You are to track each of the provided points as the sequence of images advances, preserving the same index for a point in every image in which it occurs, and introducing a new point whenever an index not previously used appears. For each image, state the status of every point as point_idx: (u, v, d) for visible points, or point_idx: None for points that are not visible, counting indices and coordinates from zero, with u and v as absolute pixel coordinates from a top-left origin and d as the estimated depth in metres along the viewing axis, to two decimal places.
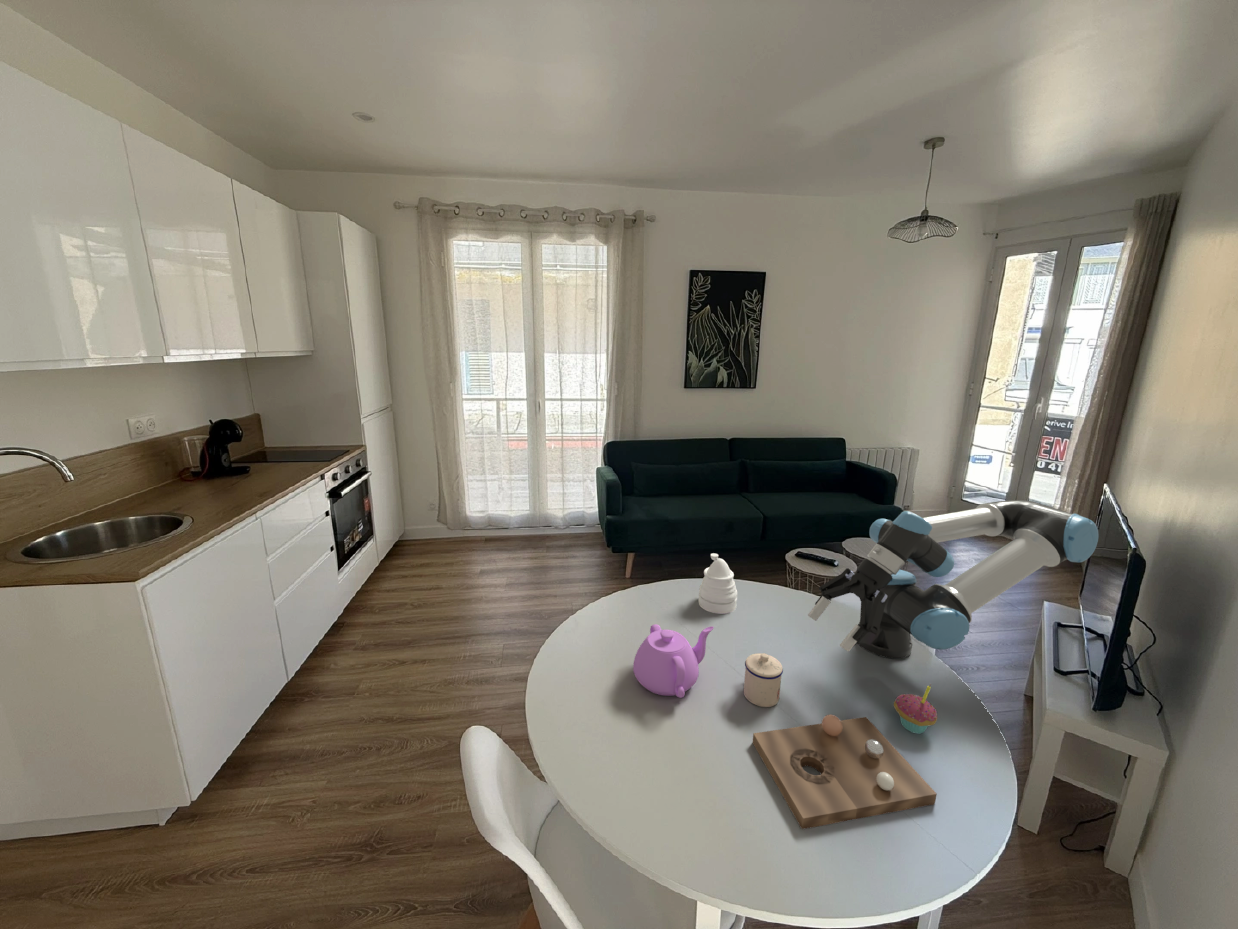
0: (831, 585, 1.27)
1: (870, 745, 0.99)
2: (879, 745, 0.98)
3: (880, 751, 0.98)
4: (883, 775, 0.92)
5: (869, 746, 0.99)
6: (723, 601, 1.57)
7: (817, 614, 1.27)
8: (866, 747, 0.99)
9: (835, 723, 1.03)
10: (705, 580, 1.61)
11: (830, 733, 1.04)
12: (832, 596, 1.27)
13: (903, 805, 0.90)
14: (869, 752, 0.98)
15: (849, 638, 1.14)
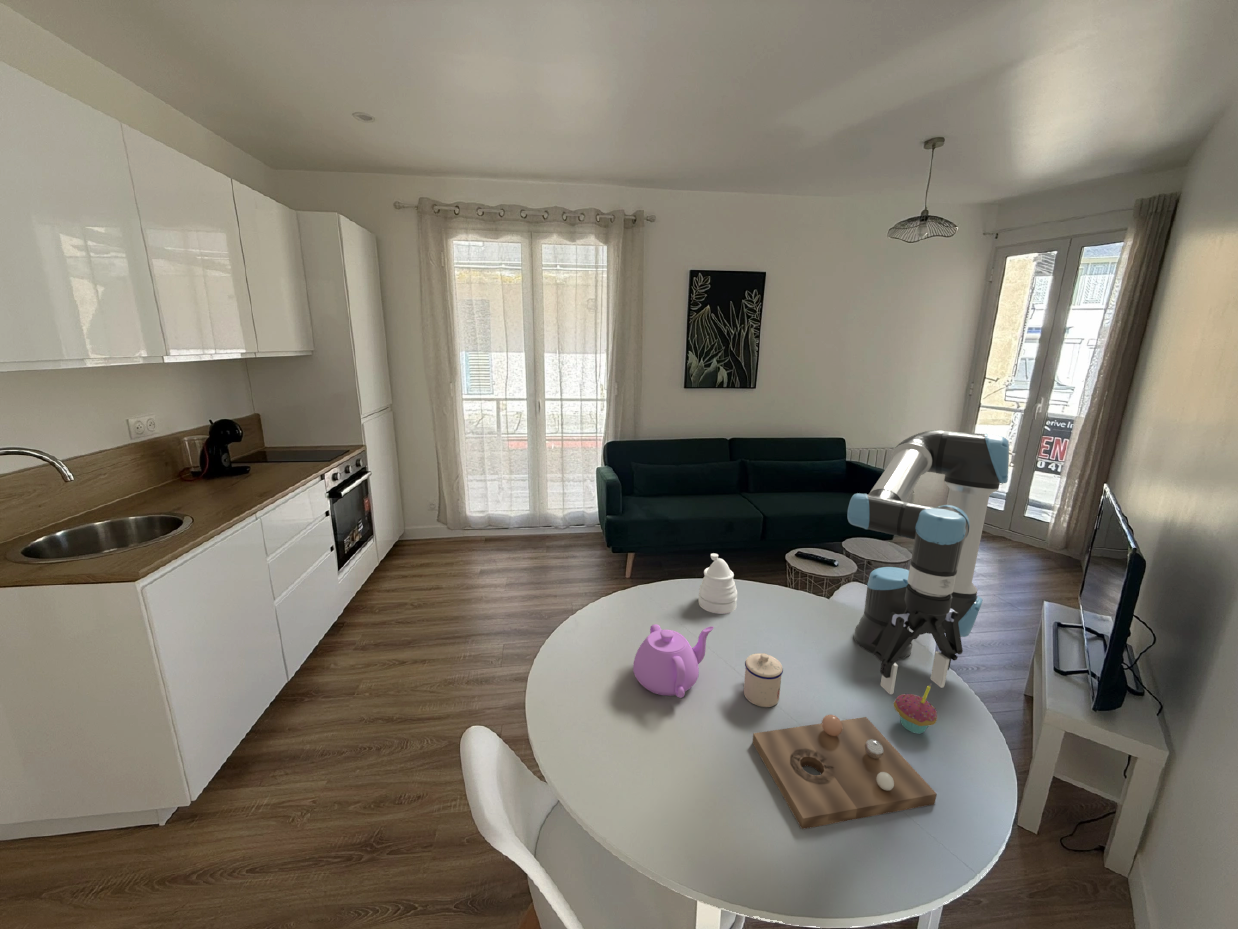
0: None
1: (870, 745, 0.99)
2: (879, 745, 0.98)
3: (880, 751, 0.98)
4: (883, 775, 0.92)
5: (869, 746, 0.99)
6: (723, 601, 1.57)
7: None
8: (866, 747, 0.99)
9: (835, 723, 1.03)
10: (705, 580, 1.61)
11: (830, 733, 1.04)
12: None
13: (903, 805, 0.90)
14: (869, 752, 0.98)
15: None
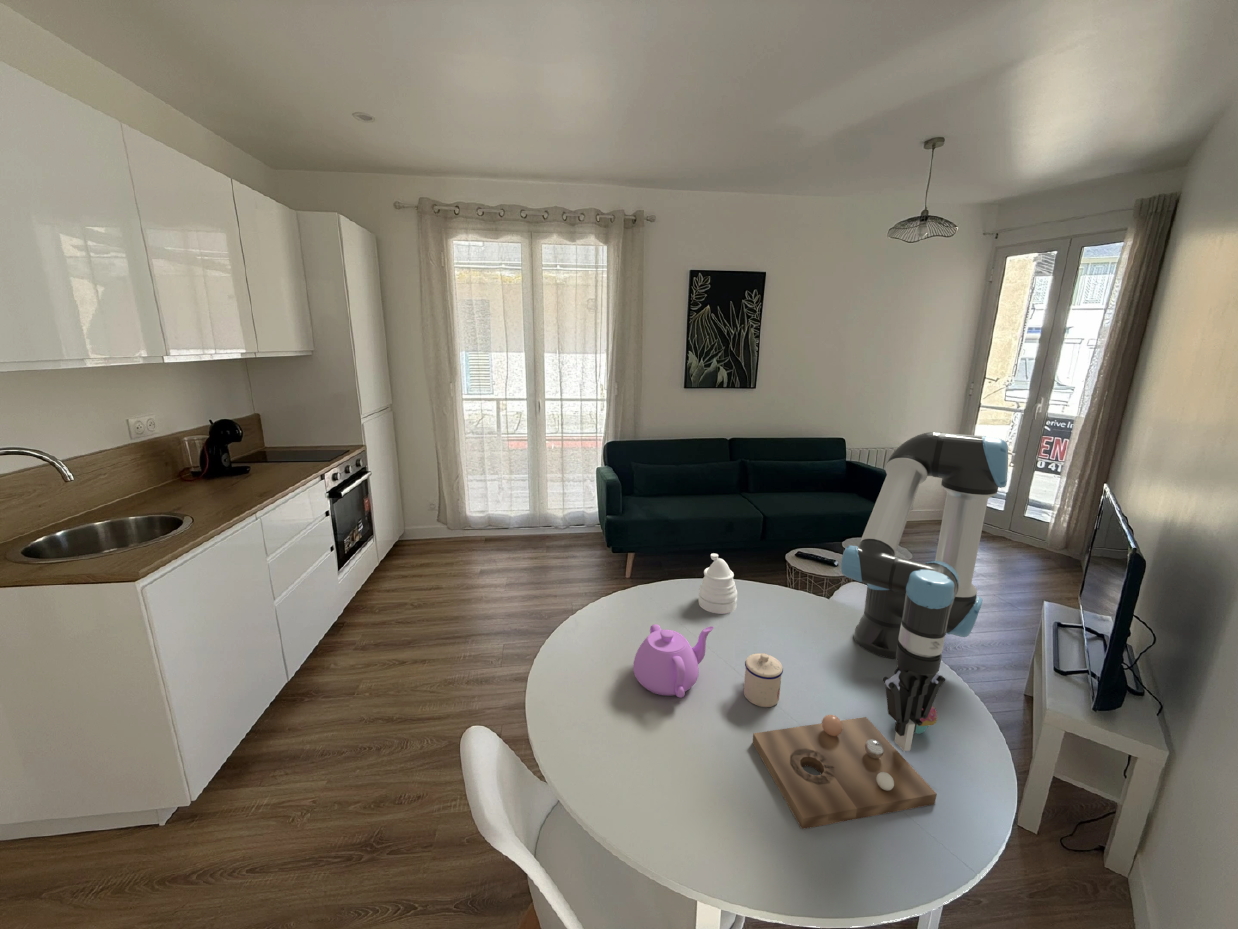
0: None
1: (870, 745, 0.99)
2: (879, 745, 0.98)
3: (880, 751, 0.98)
4: (883, 775, 0.92)
5: (869, 746, 0.99)
6: (723, 601, 1.57)
7: None
8: (866, 747, 0.99)
9: (835, 723, 1.03)
10: (705, 580, 1.61)
11: (830, 733, 1.04)
12: None
13: (903, 805, 0.90)
14: (869, 752, 0.98)
15: None
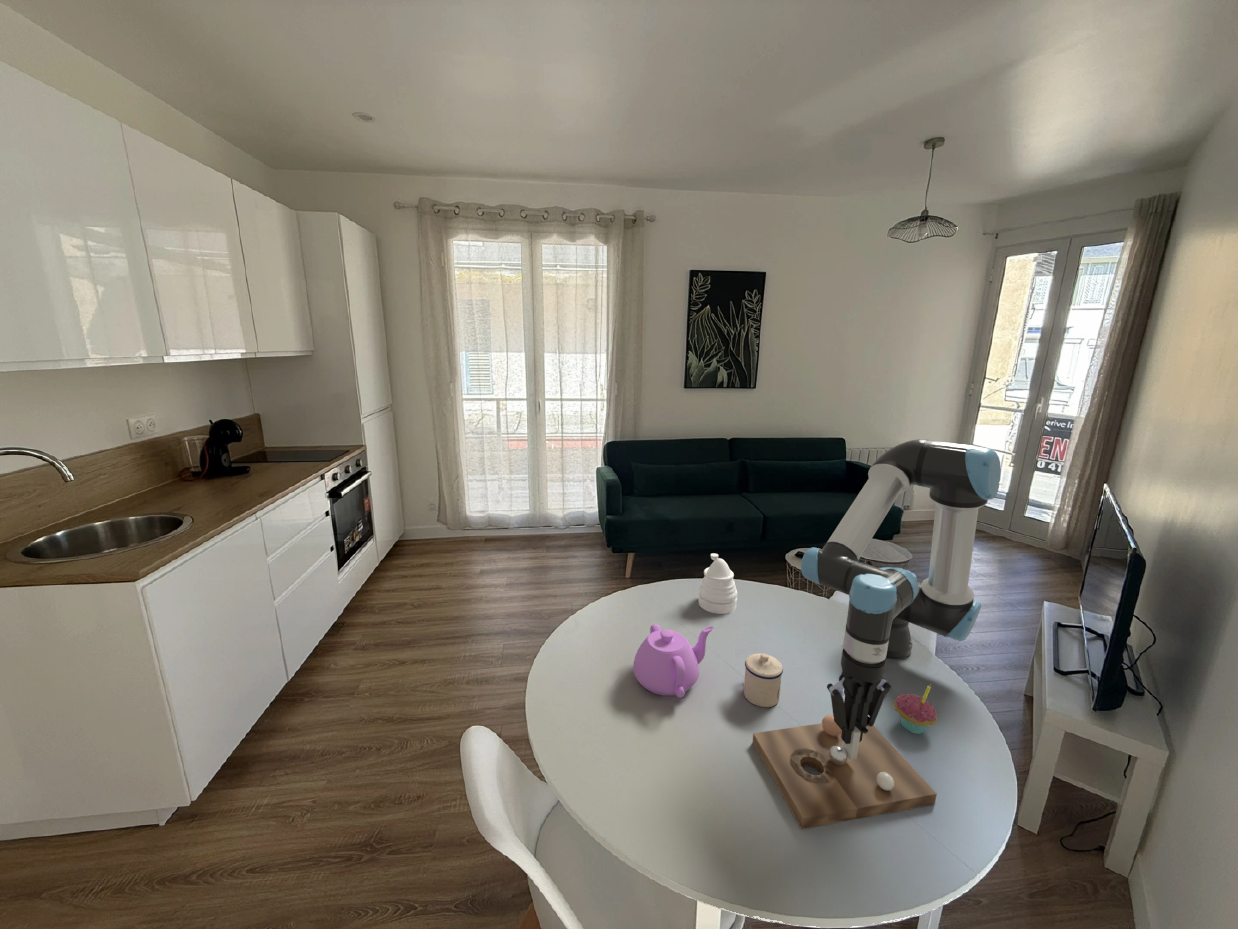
0: None
1: None
2: None
3: None
4: (883, 775, 0.92)
5: (842, 749, 0.97)
6: (723, 601, 1.57)
7: None
8: (839, 747, 0.98)
9: (835, 723, 1.03)
10: (705, 580, 1.61)
11: (830, 733, 1.04)
12: None
13: (903, 805, 0.90)
14: (840, 751, 0.97)
15: None
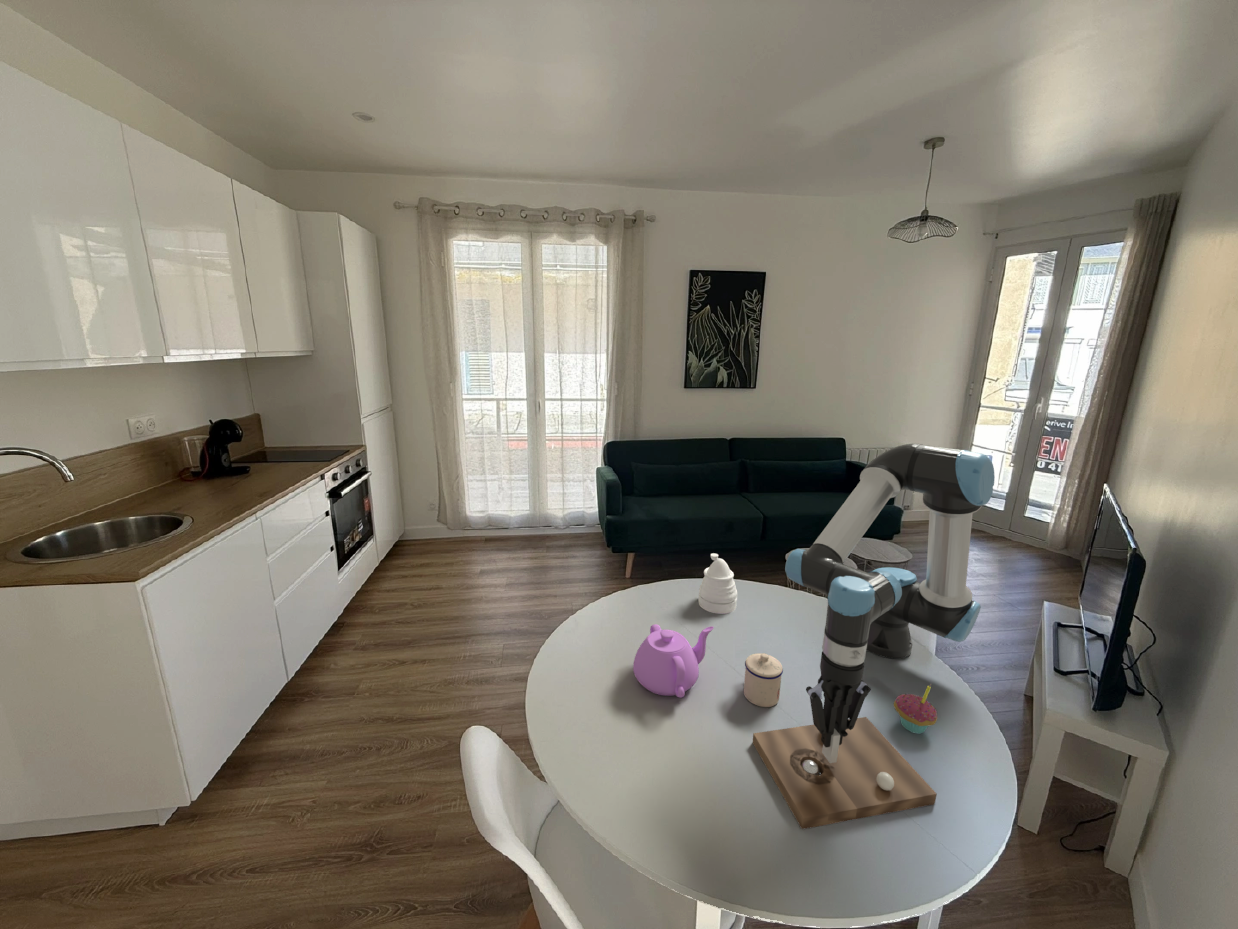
0: None
1: None
2: None
3: None
4: (883, 775, 0.92)
5: None
6: (723, 601, 1.57)
7: None
8: None
9: None
10: (705, 580, 1.61)
11: None
12: None
13: (903, 805, 0.90)
14: None
15: None
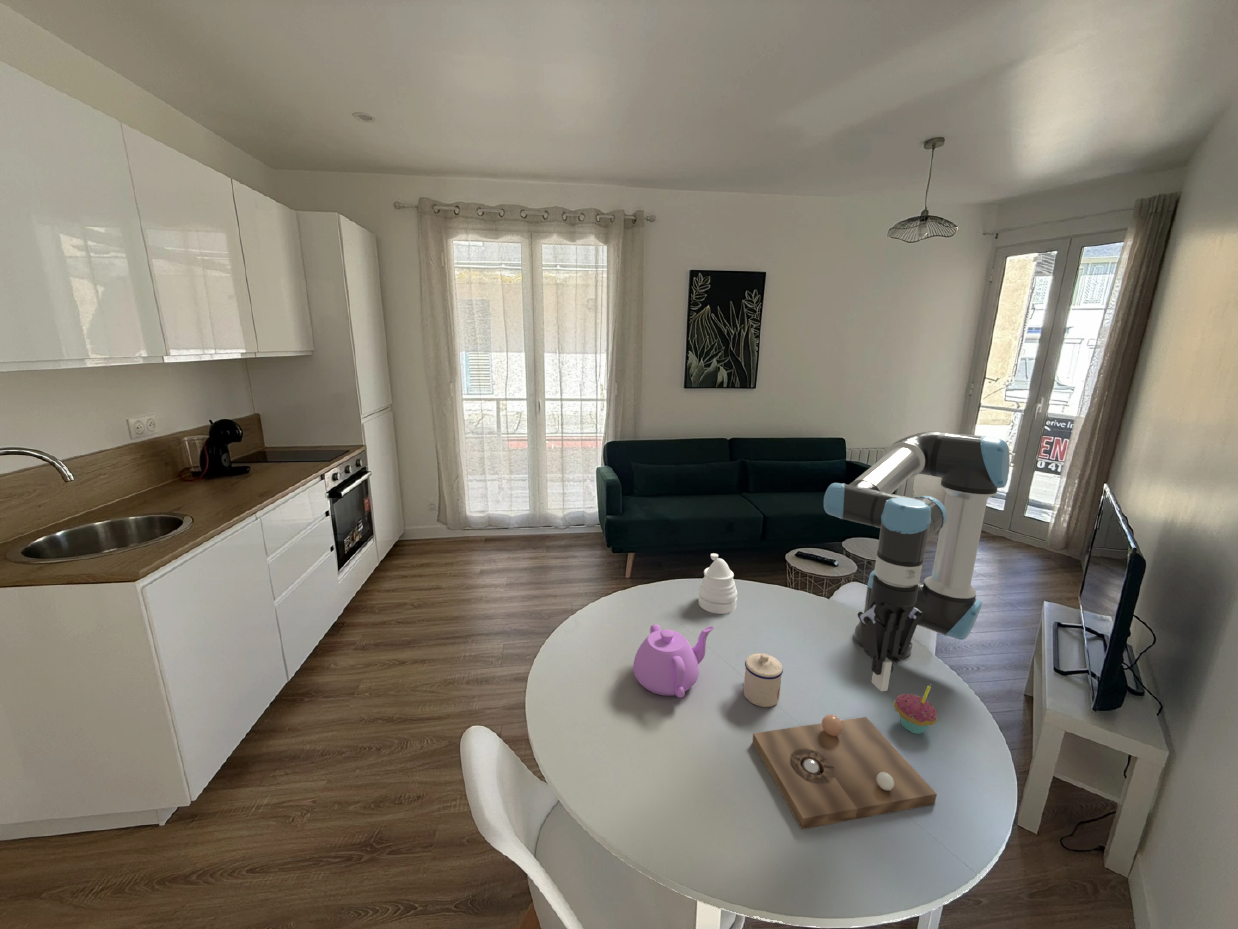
0: None
1: None
2: None
3: None
4: (883, 775, 0.92)
5: None
6: (723, 601, 1.57)
7: None
8: None
9: (835, 723, 1.03)
10: (705, 580, 1.61)
11: (830, 733, 1.04)
12: None
13: (903, 805, 0.90)
14: None
15: None
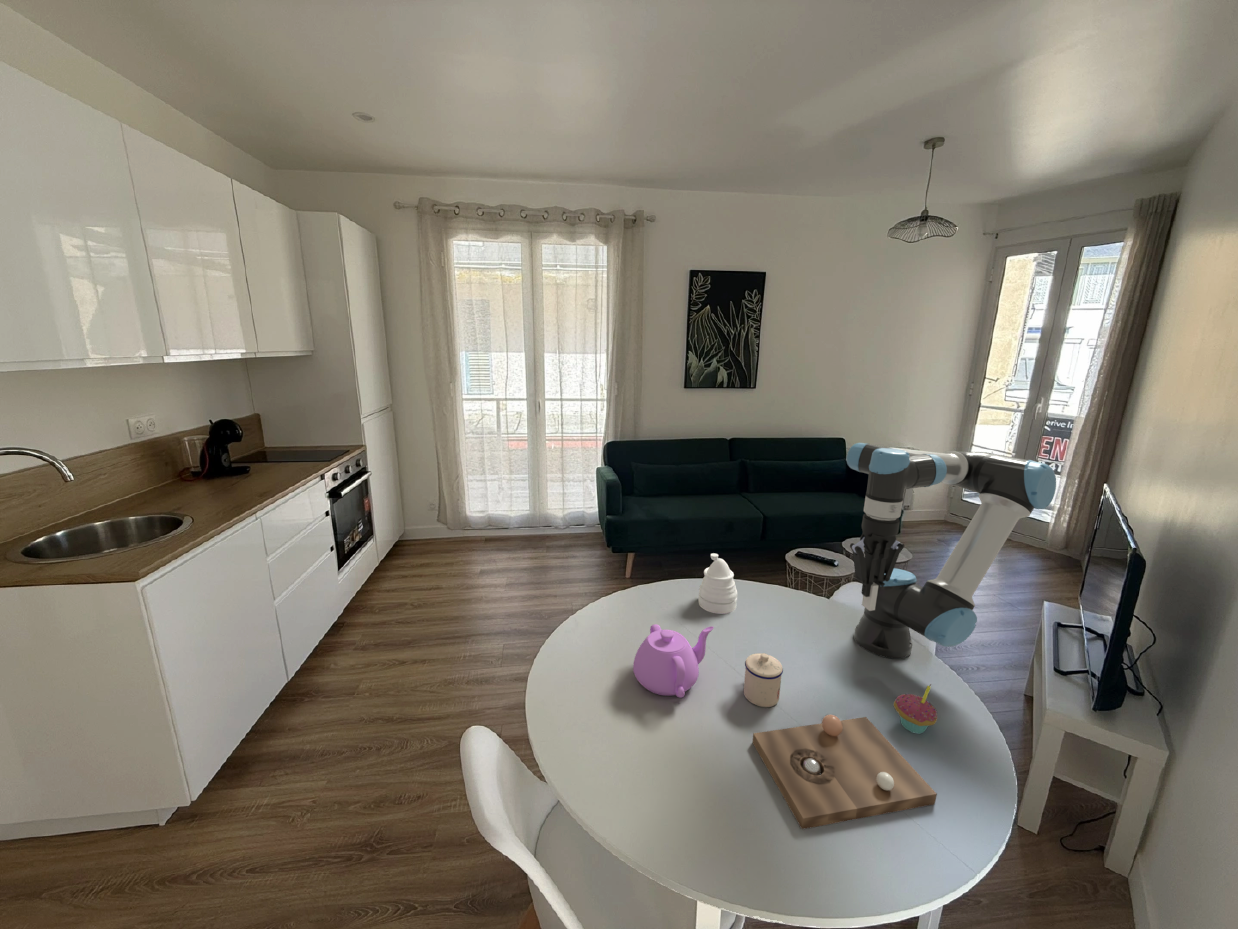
0: None
1: None
2: None
3: None
4: (883, 775, 0.92)
5: None
6: (723, 601, 1.57)
7: None
8: None
9: (835, 723, 1.03)
10: (705, 580, 1.61)
11: (830, 733, 1.04)
12: None
13: (903, 805, 0.90)
14: None
15: None
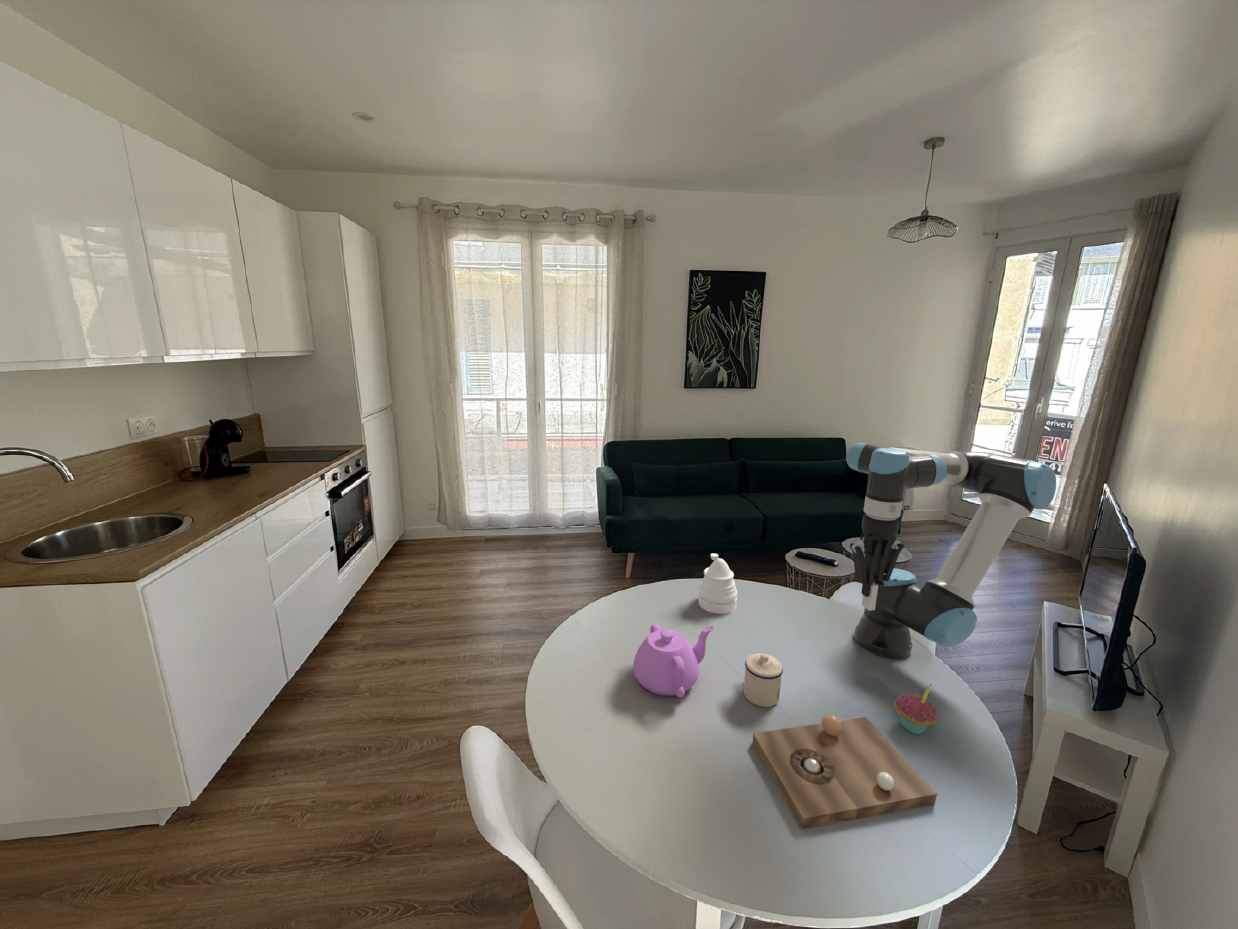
0: None
1: None
2: None
3: None
4: (883, 775, 0.92)
5: None
6: (723, 601, 1.57)
7: None
8: None
9: (835, 723, 1.03)
10: (705, 580, 1.61)
11: (830, 733, 1.04)
12: None
13: (903, 805, 0.90)
14: None
15: None
